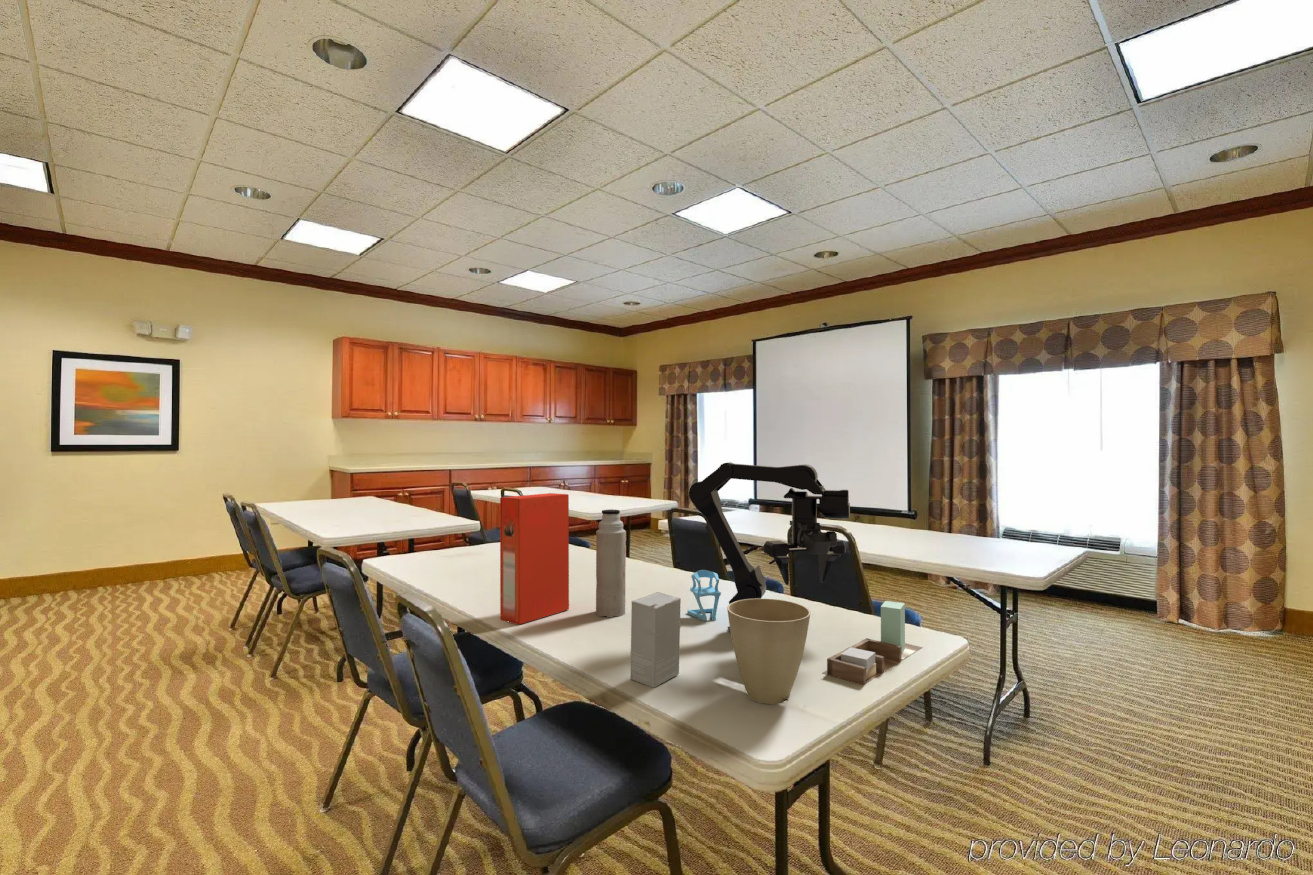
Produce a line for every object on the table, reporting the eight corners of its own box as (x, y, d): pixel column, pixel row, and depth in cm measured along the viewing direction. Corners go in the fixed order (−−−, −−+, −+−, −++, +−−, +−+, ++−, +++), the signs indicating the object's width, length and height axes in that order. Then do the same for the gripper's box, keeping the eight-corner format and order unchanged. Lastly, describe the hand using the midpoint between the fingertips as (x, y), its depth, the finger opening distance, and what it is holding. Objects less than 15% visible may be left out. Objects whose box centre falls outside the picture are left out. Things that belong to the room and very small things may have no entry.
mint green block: (900, 656, 128) (900, 609, 128) (880, 652, 130) (880, 606, 130) (904, 648, 132) (904, 603, 132) (885, 645, 134) (885, 600, 134)
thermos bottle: (626, 609, 168) (626, 508, 168) (624, 617, 160) (624, 511, 160) (597, 608, 168) (598, 508, 168) (594, 617, 160) (594, 511, 160)
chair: (696, 622, 156) (696, 575, 156) (686, 613, 164) (687, 569, 164) (724, 620, 158) (724, 574, 158) (713, 611, 166) (714, 567, 166)
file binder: (499, 619, 157) (500, 497, 158) (548, 605, 171) (549, 492, 172) (520, 625, 153) (520, 498, 153) (568, 610, 166) (569, 494, 167)
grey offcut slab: (866, 670, 115) (866, 659, 115) (841, 664, 118) (841, 653, 118) (875, 662, 119) (875, 652, 119) (850, 657, 122) (850, 647, 122)
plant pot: (713, 701, 108) (713, 612, 108) (746, 674, 120) (746, 594, 121) (794, 722, 100) (794, 625, 100) (820, 690, 113) (820, 605, 113)
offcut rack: (863, 690, 113) (863, 669, 113) (821, 678, 119) (821, 657, 119) (922, 651, 134) (922, 633, 134) (885, 642, 140) (885, 625, 140)
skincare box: (655, 667, 124) (655, 590, 124) (683, 676, 119) (683, 596, 120) (627, 680, 117) (627, 598, 118) (655, 689, 113) (656, 604, 113)
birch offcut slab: (864, 680, 115) (864, 670, 115) (840, 673, 118) (840, 663, 118) (876, 673, 118) (876, 663, 118) (852, 666, 122) (852, 656, 122)
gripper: (783, 523, 133) (783, 594, 133) (858, 520, 137) (859, 589, 137) (762, 517, 144) (762, 583, 143) (833, 515, 148) (833, 578, 148)
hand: (804, 583), depth 143 cm, fingers open, 9 cm apart
